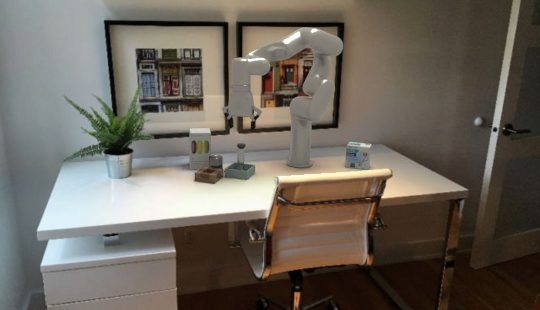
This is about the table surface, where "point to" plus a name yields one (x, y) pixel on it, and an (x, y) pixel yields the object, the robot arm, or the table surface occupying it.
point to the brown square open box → (209, 175)
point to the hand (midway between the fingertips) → (242, 128)
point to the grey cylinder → (216, 161)
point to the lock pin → (240, 156)
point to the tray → (234, 173)
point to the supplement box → (199, 147)
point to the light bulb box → (358, 155)
